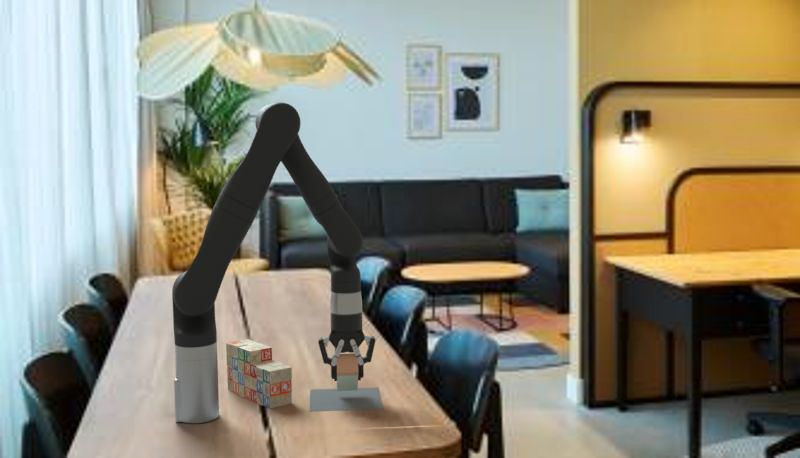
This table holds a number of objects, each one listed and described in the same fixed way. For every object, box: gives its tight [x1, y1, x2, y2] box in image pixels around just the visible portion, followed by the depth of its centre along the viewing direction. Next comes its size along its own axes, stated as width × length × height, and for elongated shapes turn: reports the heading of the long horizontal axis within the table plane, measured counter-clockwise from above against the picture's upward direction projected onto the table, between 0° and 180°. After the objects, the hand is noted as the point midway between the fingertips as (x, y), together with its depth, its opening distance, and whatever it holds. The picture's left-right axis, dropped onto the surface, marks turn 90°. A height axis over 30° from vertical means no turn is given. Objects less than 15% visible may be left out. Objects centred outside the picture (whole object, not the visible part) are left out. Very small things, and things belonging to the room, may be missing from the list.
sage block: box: [336, 353, 359, 391], centre depth 202 cm, size 5×5×9 cm
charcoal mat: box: [309, 386, 384, 413], centre depth 203 cm, size 17×17×1 cm
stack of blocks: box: [225, 338, 293, 409], centre depth 205 cm, size 21×6×12 cm, turn 38°
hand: (347, 379), depth 202 cm, fingers closed on sage block, 5 cm apart
